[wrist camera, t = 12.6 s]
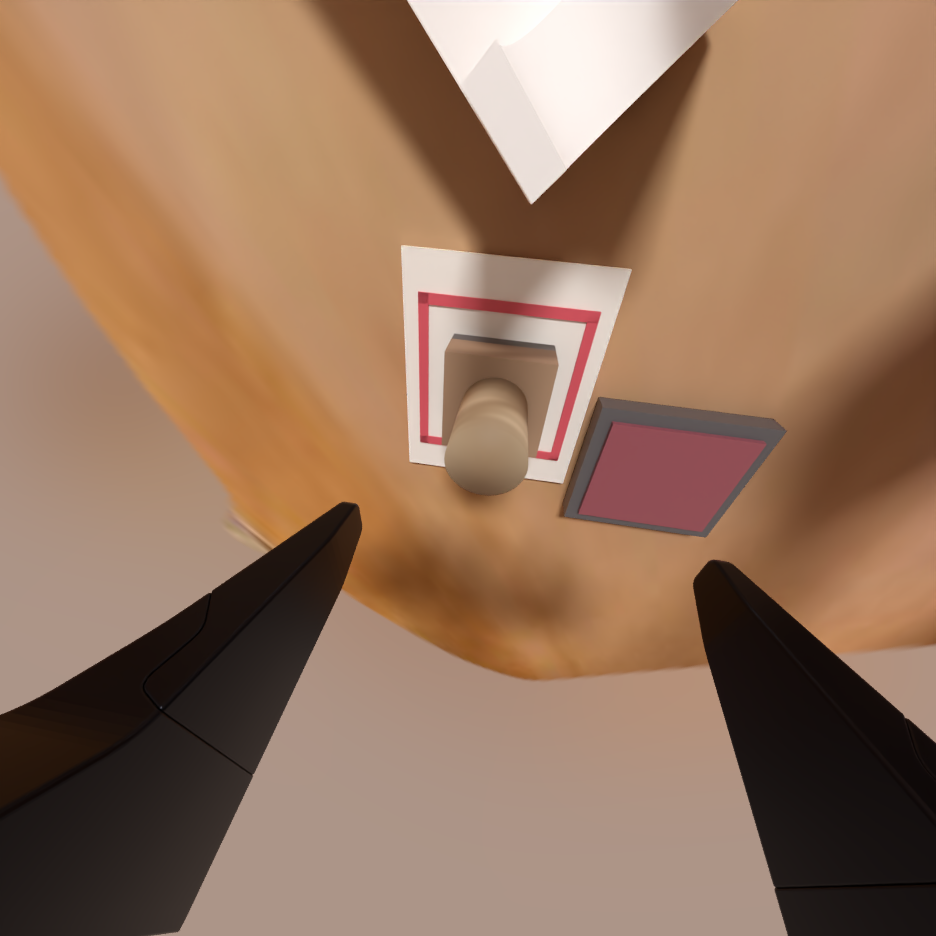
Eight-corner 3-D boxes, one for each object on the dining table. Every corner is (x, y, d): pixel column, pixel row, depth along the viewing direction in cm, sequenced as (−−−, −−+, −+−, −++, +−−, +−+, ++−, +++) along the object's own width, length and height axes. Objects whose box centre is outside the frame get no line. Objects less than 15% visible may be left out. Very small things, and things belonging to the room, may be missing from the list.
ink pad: (773, 419, 18) (790, 434, 17) (698, 523, 23) (707, 541, 22) (598, 397, 18) (603, 410, 17) (562, 503, 23) (564, 519, 22)
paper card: (630, 268, 15) (632, 270, 14) (562, 480, 22) (562, 484, 22) (402, 245, 15) (400, 245, 15) (410, 459, 23) (409, 462, 23)
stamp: (554, 345, 17) (568, 414, 11) (535, 431, 20) (538, 519, 14) (454, 333, 17) (420, 395, 12) (450, 420, 20) (421, 501, 15)
